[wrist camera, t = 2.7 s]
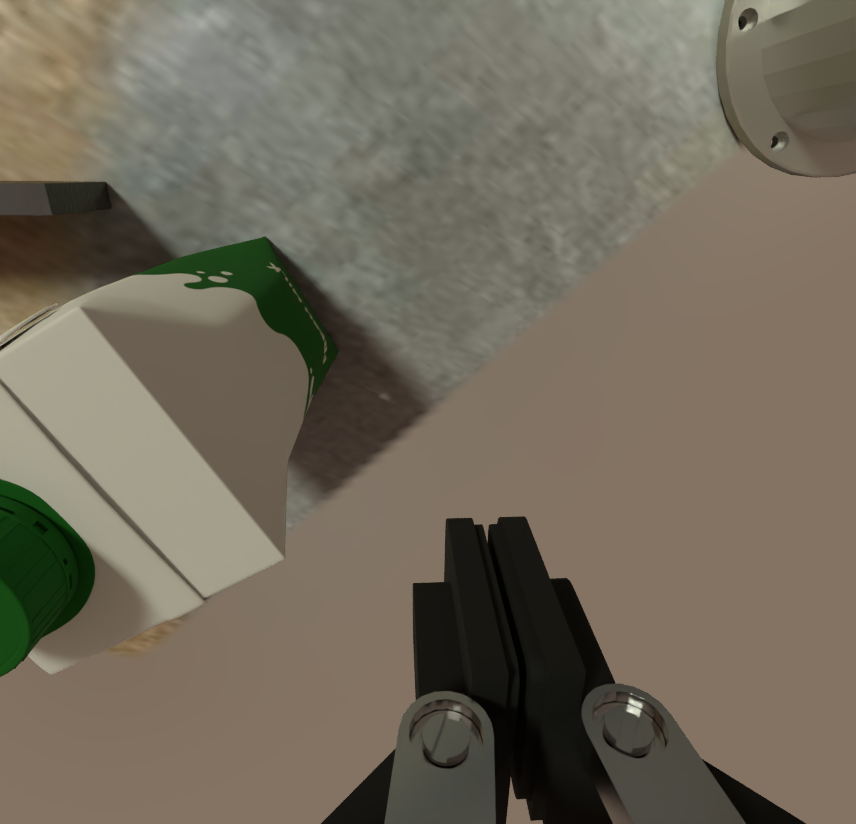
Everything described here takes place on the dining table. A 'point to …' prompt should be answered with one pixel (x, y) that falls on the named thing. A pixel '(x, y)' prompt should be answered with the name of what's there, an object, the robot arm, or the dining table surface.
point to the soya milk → (148, 448)
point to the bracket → (52, 197)
